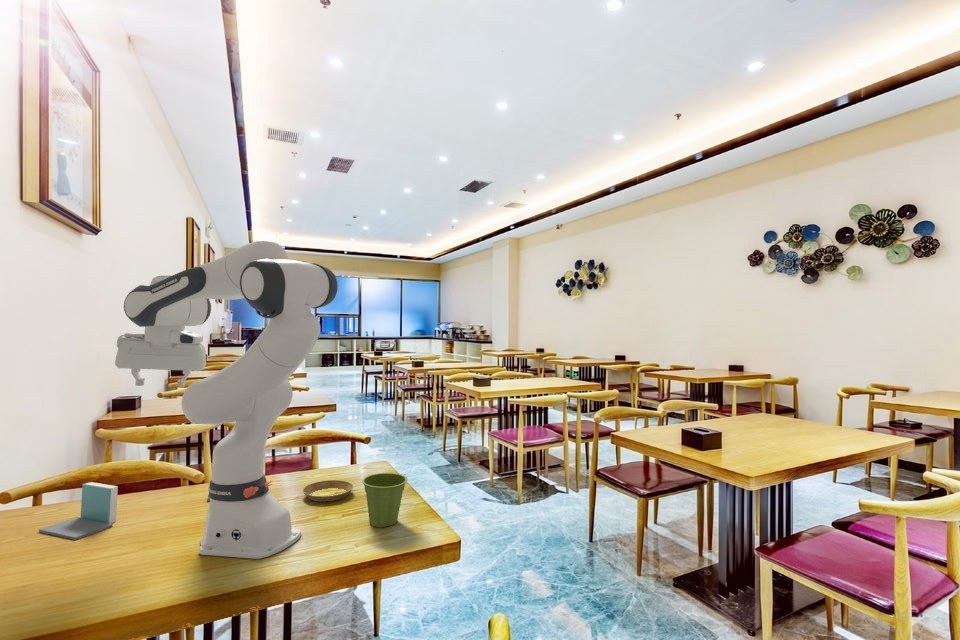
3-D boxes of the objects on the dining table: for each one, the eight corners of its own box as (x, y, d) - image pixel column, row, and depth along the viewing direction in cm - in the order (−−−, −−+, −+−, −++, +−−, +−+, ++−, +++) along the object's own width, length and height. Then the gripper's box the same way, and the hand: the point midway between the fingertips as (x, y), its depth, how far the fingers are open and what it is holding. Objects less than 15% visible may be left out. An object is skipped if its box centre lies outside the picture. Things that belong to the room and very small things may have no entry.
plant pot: (359, 533, 111) (360, 487, 111) (362, 514, 123) (363, 473, 123) (407, 530, 113) (408, 485, 114) (405, 512, 125) (406, 471, 126)
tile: (115, 521, 115) (117, 486, 116) (107, 524, 113) (109, 488, 114) (89, 516, 118) (91, 482, 119) (80, 519, 116) (82, 484, 117)
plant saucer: (361, 490, 143) (361, 482, 143) (336, 507, 128) (337, 498, 128) (320, 486, 146) (320, 478, 146) (291, 502, 132) (292, 493, 132)
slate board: (112, 526, 112) (112, 524, 112) (75, 540, 104) (75, 537, 105) (76, 519, 116) (77, 517, 116) (38, 531, 108) (38, 529, 108)
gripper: (112, 333, 114) (108, 387, 114) (204, 338, 122) (200, 388, 122) (122, 331, 120) (118, 382, 120) (209, 336, 128) (205, 384, 128)
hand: (160, 385), depth 121 cm, fingers open, 8 cm apart
